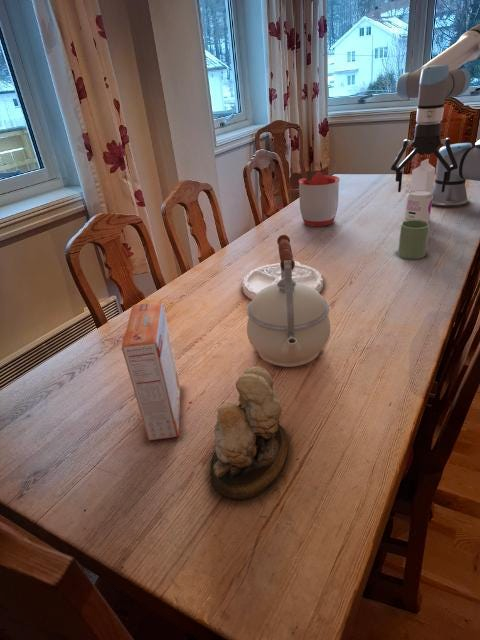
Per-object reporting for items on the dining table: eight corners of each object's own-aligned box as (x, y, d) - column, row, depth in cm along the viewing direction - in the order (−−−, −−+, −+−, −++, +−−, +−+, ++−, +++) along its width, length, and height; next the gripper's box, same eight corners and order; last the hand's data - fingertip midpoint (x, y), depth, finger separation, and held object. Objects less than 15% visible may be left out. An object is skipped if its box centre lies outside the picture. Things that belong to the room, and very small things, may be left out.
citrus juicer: (324, 213, 183) (325, 164, 173) (345, 224, 169) (347, 171, 159) (291, 219, 180) (289, 170, 170) (309, 231, 165) (309, 178, 155)
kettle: (249, 326, 108) (240, 231, 95) (322, 322, 107) (323, 225, 94) (248, 391, 86) (236, 278, 74) (340, 386, 85) (344, 271, 73)
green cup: (408, 247, 143) (412, 218, 138) (430, 254, 137) (435, 223, 132) (392, 254, 139) (395, 224, 134) (414, 261, 133) (418, 230, 128)
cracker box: (152, 392, 89) (131, 303, 78) (181, 388, 89) (164, 299, 78) (145, 442, 76) (119, 345, 66) (179, 438, 77) (158, 340, 66)
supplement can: (426, 231, 154) (432, 189, 147) (427, 239, 148) (433, 196, 140) (402, 231, 157) (407, 189, 149) (402, 239, 150) (406, 195, 143)
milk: (428, 218, 166) (437, 159, 155) (420, 223, 163) (429, 162, 152) (413, 216, 170) (421, 157, 159) (405, 220, 167) (413, 161, 156)
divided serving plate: (231, 300, 121) (230, 293, 120) (260, 263, 142) (259, 256, 141) (313, 308, 113) (313, 300, 112) (331, 267, 135) (331, 260, 133)
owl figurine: (240, 413, 81) (231, 337, 72) (300, 427, 76) (299, 348, 68) (195, 489, 67) (177, 406, 58) (266, 512, 62) (258, 426, 54)
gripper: (385, 126, 136) (380, 194, 146) (474, 122, 126) (462, 194, 137) (388, 123, 141) (383, 188, 152) (472, 118, 132) (461, 188, 143)
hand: (420, 191), depth 145 cm, fingers open, 13 cm apart
